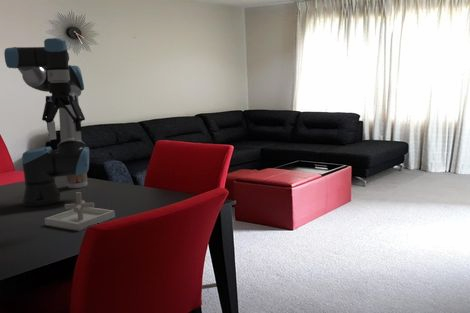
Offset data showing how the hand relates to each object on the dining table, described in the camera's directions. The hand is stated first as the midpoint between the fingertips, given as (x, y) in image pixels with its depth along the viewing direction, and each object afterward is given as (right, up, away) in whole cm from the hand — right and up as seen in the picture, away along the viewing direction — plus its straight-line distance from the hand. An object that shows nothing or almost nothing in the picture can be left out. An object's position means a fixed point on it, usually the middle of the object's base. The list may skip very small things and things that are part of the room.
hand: (65, 140), depth 167 cm
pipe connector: (+7, -29, -5) cm, 30 cm away
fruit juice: (-14, -21, +54) cm, 60 cm away
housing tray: (+7, -30, -5) cm, 31 cm away
